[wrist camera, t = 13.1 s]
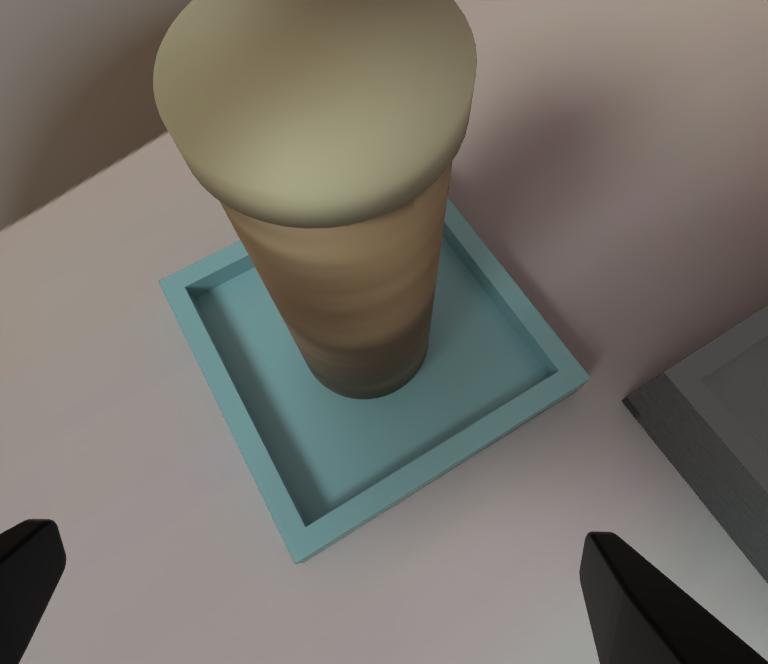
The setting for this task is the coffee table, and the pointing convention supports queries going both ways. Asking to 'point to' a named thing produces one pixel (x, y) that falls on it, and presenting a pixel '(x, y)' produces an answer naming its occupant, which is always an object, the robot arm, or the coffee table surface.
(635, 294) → the coffee table surface
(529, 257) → the coffee table surface
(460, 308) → the tray
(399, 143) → the canister
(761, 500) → the holder
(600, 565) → the robot arm
